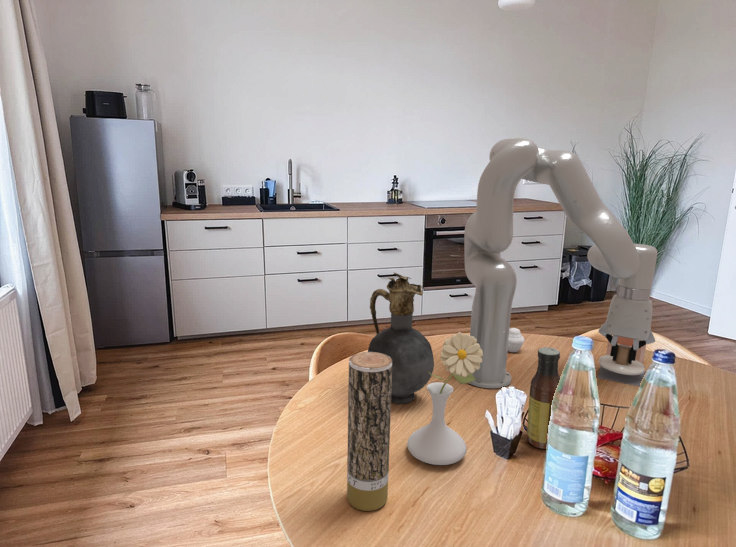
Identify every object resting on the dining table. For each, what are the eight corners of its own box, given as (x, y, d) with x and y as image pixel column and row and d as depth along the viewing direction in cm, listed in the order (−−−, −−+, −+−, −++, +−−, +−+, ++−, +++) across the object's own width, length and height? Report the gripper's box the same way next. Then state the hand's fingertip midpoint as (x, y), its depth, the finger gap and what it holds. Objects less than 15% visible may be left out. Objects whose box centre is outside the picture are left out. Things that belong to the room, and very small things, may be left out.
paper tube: (386, 486, 92) (390, 352, 86) (388, 513, 85) (394, 369, 79) (346, 486, 91) (348, 351, 86) (346, 513, 85) (348, 368, 79)
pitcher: (402, 416, 116) (408, 284, 109) (352, 385, 130) (354, 266, 123) (438, 403, 122) (445, 277, 115) (386, 374, 137) (390, 261, 130)
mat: (645, 389, 132) (645, 387, 132) (597, 379, 137) (597, 377, 136) (645, 373, 141) (645, 371, 141) (601, 364, 146) (601, 363, 146)
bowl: (615, 367, 145) (618, 346, 143) (601, 354, 153) (604, 335, 152) (647, 368, 145) (651, 347, 143) (632, 355, 153) (635, 336, 152)
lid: (609, 374, 133) (612, 353, 132) (592, 357, 143) (595, 338, 142) (652, 376, 133) (656, 355, 132) (631, 359, 143) (635, 340, 142)
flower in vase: (403, 467, 97) (409, 339, 92) (409, 435, 108) (414, 319, 102) (475, 476, 95) (485, 345, 89) (474, 442, 106) (483, 324, 100)
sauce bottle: (554, 435, 109) (564, 345, 105) (562, 452, 103) (573, 357, 99) (522, 433, 110) (531, 343, 105) (527, 450, 104) (537, 355, 99)
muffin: (508, 355, 151) (510, 332, 150) (497, 347, 157) (499, 325, 156) (527, 353, 153) (529, 330, 151) (516, 345, 159) (518, 323, 157)
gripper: (597, 291, 134) (586, 358, 138) (670, 302, 127) (657, 373, 131) (599, 285, 140) (589, 349, 145) (669, 295, 133) (657, 363, 137)
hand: (622, 360), depth 138 cm, fingers closed on lid, 3 cm apart
